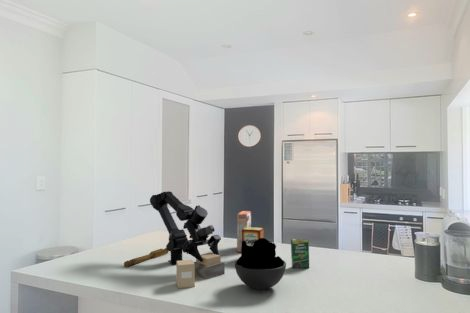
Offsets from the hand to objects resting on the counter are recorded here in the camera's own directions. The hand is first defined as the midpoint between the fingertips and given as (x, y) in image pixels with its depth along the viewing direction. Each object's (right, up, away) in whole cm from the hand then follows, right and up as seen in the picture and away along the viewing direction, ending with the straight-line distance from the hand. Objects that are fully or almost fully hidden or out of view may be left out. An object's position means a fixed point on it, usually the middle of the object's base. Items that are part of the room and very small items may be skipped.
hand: (210, 259), depth 155 cm
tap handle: (-33, -8, +24) cm, 42 cm away
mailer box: (-9, -7, -13) cm, 17 cm away
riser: (-1, -7, +1) cm, 7 cm away
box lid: (-1, -2, +1) cm, 2 cm away
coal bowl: (+21, -7, -17) cm, 27 cm away
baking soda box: (+20, -7, +23) cm, 31 cm away
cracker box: (+16, -8, +44) cm, 47 cm away
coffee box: (+41, -7, +10) cm, 43 cm away
